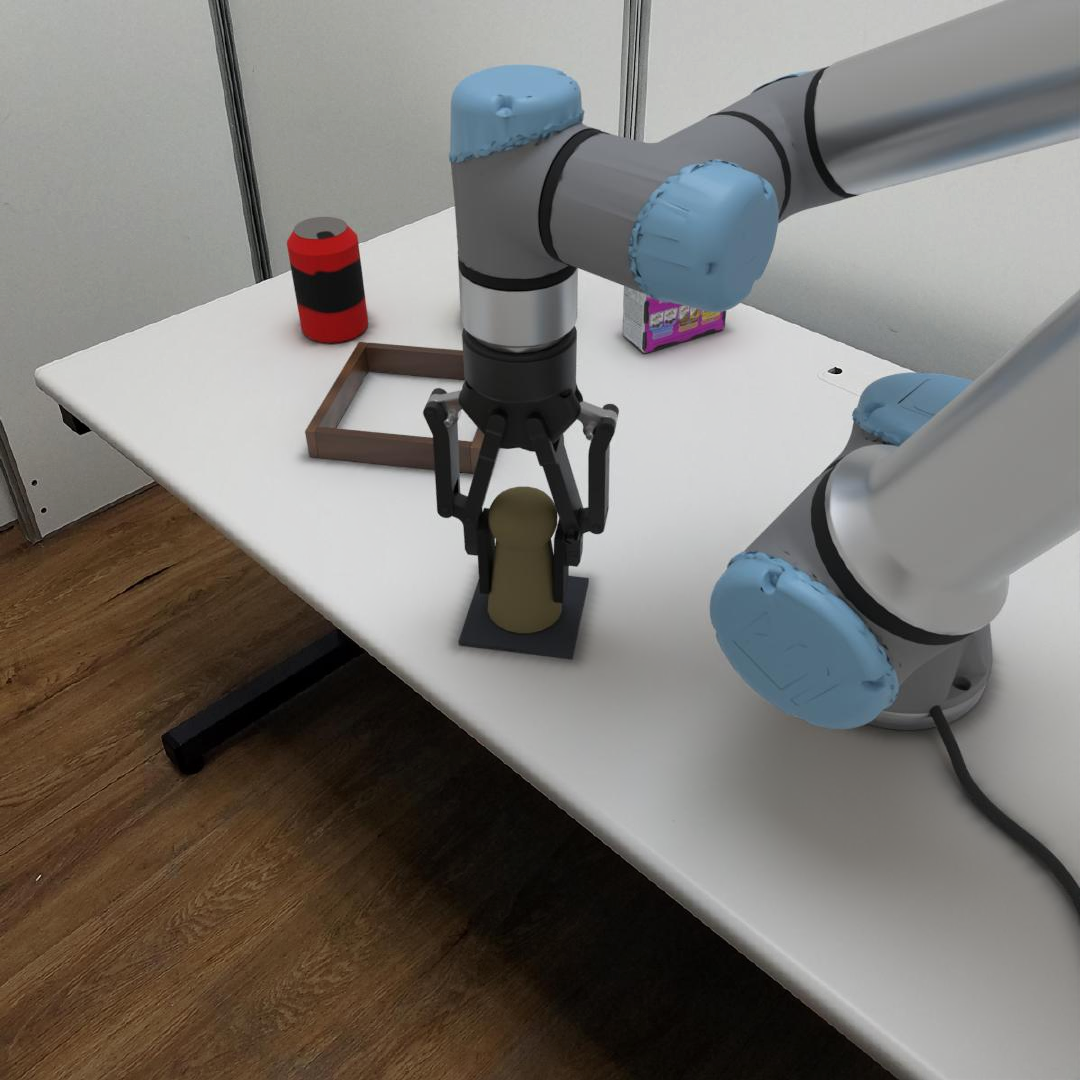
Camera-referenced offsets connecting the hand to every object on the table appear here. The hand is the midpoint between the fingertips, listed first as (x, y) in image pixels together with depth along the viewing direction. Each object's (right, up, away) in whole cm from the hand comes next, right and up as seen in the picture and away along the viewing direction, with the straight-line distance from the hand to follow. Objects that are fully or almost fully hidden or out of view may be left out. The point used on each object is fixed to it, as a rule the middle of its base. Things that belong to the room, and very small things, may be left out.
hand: (524, 586), depth 84 cm
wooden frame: (-11, +16, +24) cm, 31 cm away
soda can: (-22, +28, +38) cm, 52 cm away
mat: (0, -2, +2) cm, 3 cm away
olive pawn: (0, -2, +2) cm, 2 cm away
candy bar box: (+16, +27, +36) cm, 48 cm away
